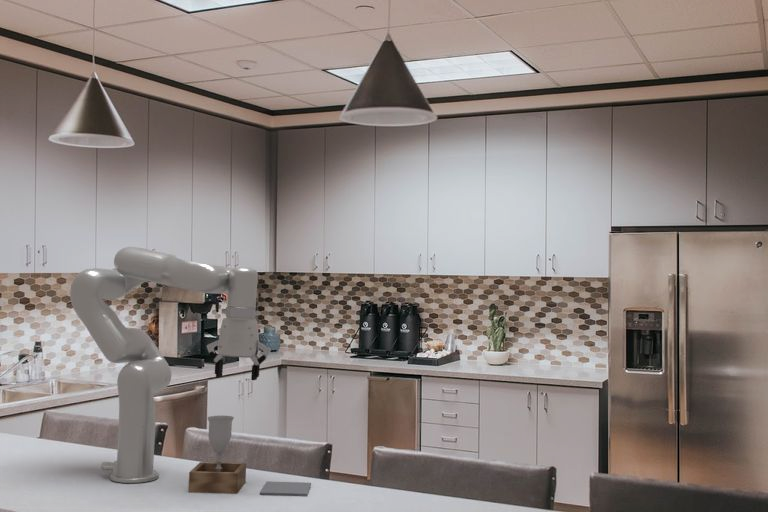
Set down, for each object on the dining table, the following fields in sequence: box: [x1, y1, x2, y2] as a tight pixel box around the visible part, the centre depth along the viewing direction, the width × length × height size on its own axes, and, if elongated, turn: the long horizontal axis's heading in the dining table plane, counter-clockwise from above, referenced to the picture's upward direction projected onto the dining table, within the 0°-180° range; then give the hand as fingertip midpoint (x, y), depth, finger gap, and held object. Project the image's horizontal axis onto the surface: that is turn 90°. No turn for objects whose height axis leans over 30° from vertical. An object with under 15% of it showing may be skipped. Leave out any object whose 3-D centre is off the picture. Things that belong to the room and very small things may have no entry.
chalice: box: [207, 415, 235, 472], centre depth 202 cm, size 7×7×18 cm
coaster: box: [259, 481, 312, 497], centre depth 201 cm, size 12×12×1 cm
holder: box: [188, 461, 247, 495], centre depth 202 cm, size 12×12×5 cm
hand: (236, 378), depth 205 cm, fingers open, 9 cm apart
